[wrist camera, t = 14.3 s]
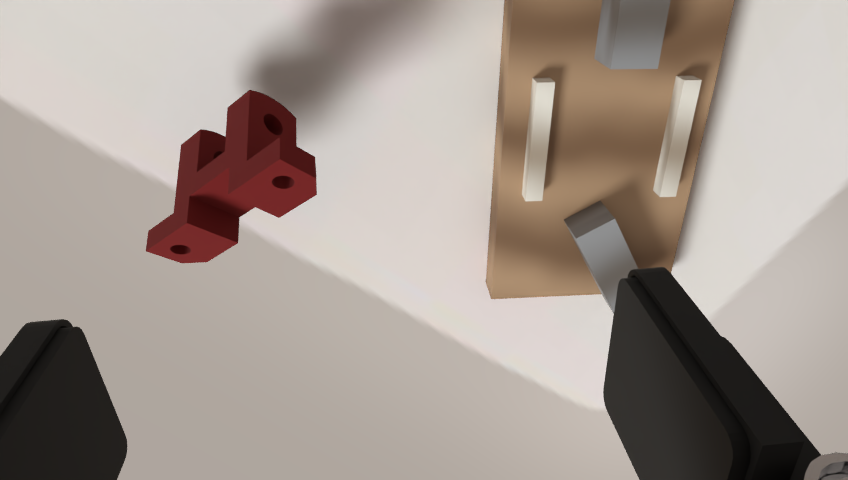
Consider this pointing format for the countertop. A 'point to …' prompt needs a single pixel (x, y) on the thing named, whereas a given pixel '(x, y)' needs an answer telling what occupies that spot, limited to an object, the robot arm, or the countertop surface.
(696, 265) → the countertop surface
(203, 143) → the bracket
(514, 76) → the jig
